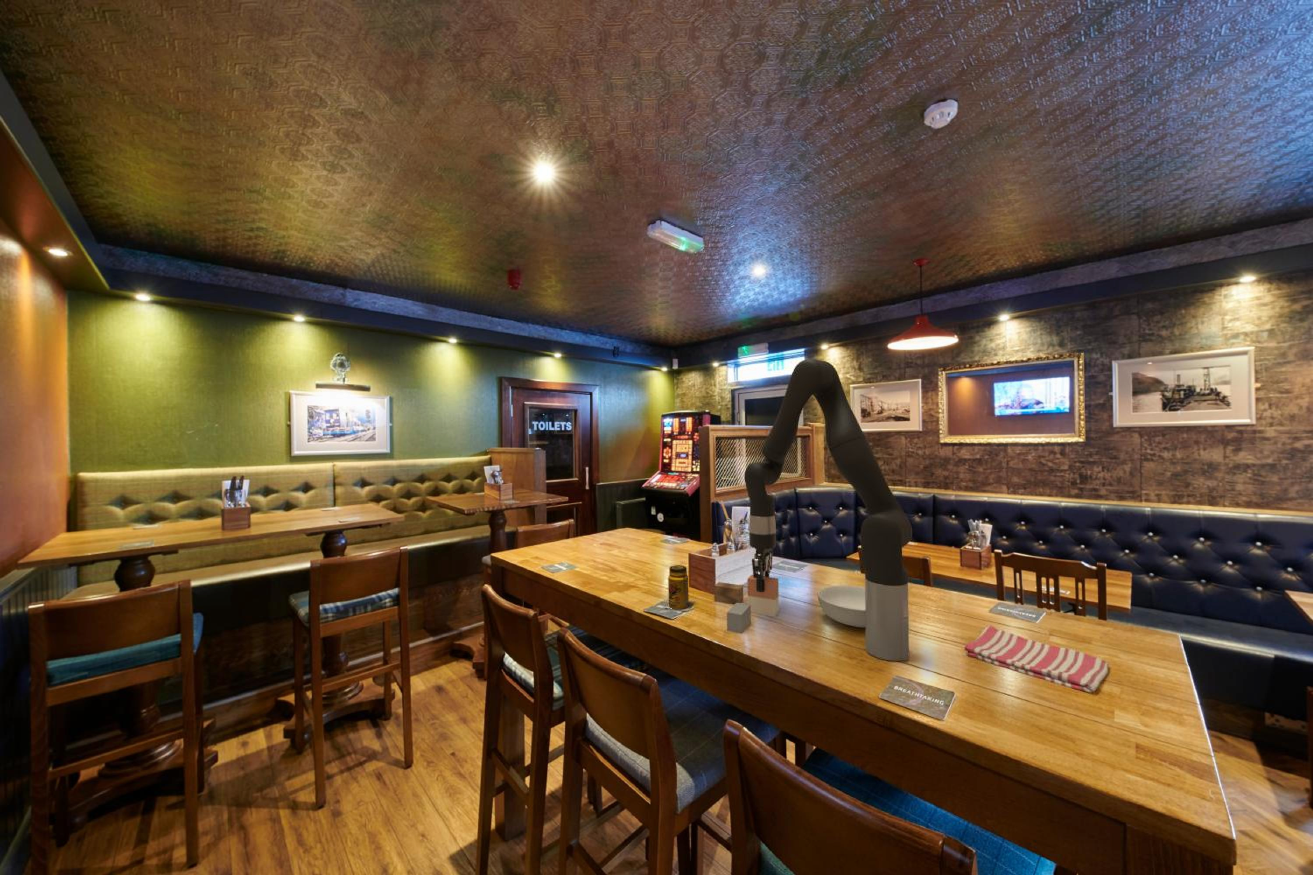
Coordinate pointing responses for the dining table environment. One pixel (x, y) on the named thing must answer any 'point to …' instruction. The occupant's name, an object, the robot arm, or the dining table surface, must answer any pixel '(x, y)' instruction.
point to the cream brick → (764, 606)
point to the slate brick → (738, 617)
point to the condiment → (678, 588)
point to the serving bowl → (844, 604)
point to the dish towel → (1039, 659)
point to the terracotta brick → (770, 588)
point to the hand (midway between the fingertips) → (763, 588)
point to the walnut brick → (728, 593)
